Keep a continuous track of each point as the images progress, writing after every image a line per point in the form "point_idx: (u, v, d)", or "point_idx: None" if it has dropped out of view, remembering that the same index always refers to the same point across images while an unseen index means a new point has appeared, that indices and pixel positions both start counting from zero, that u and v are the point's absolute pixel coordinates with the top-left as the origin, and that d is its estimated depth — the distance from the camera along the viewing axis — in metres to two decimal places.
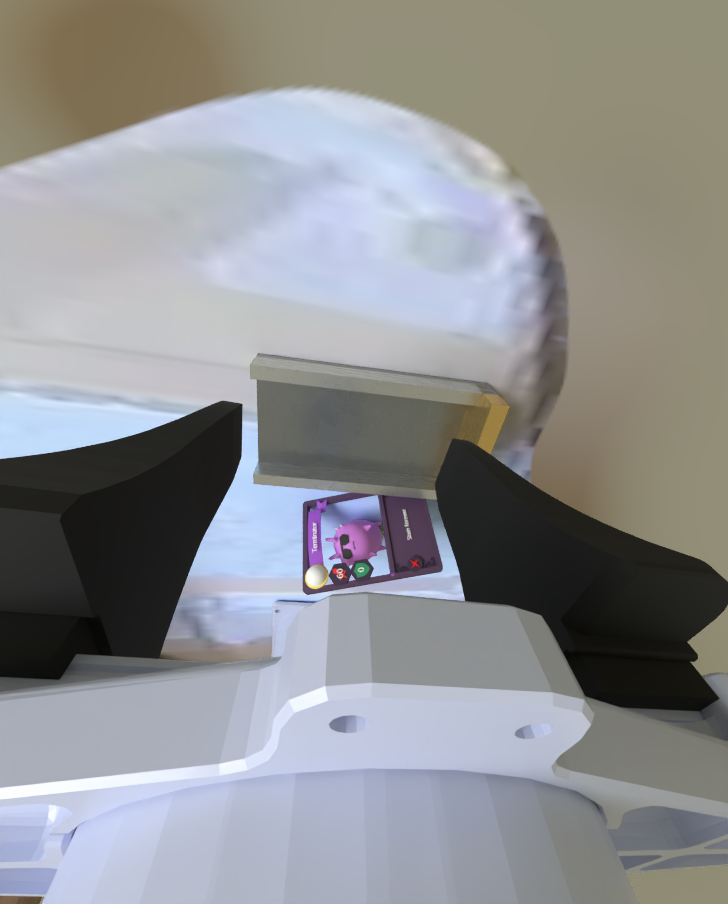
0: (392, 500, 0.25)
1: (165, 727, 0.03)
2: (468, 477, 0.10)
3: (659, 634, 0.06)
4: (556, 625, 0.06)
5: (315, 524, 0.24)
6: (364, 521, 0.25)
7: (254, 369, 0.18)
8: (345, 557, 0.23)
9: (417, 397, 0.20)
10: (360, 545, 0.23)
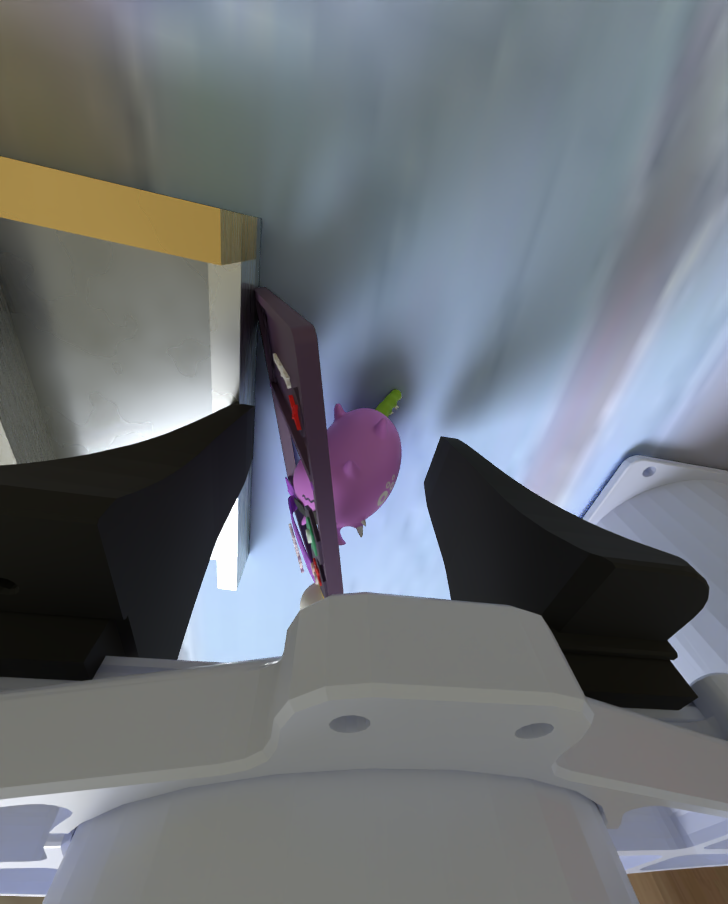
0: (276, 370, 0.11)
1: (165, 727, 0.03)
2: (455, 475, 0.10)
3: (638, 632, 0.06)
4: None
5: (290, 526, 0.13)
6: None
7: None
8: None
9: None
10: None
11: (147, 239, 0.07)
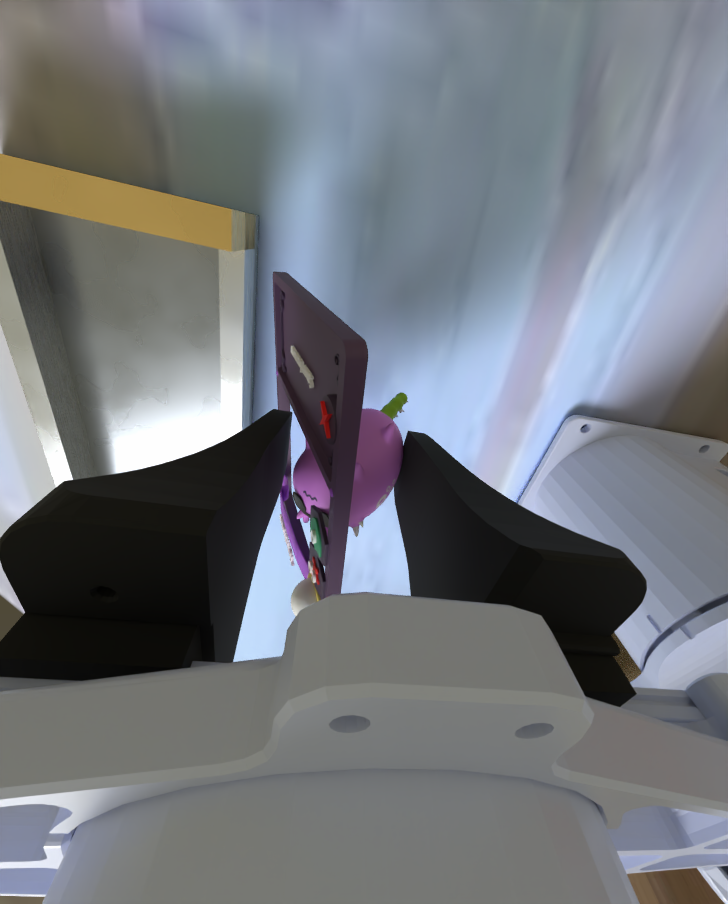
0: (288, 360, 0.11)
1: (165, 727, 0.03)
2: (417, 470, 0.10)
3: (579, 627, 0.06)
4: None
5: (281, 517, 0.13)
6: None
7: None
8: (326, 524, 0.10)
9: (22, 323, 0.12)
10: (315, 485, 0.10)
11: (176, 231, 0.09)
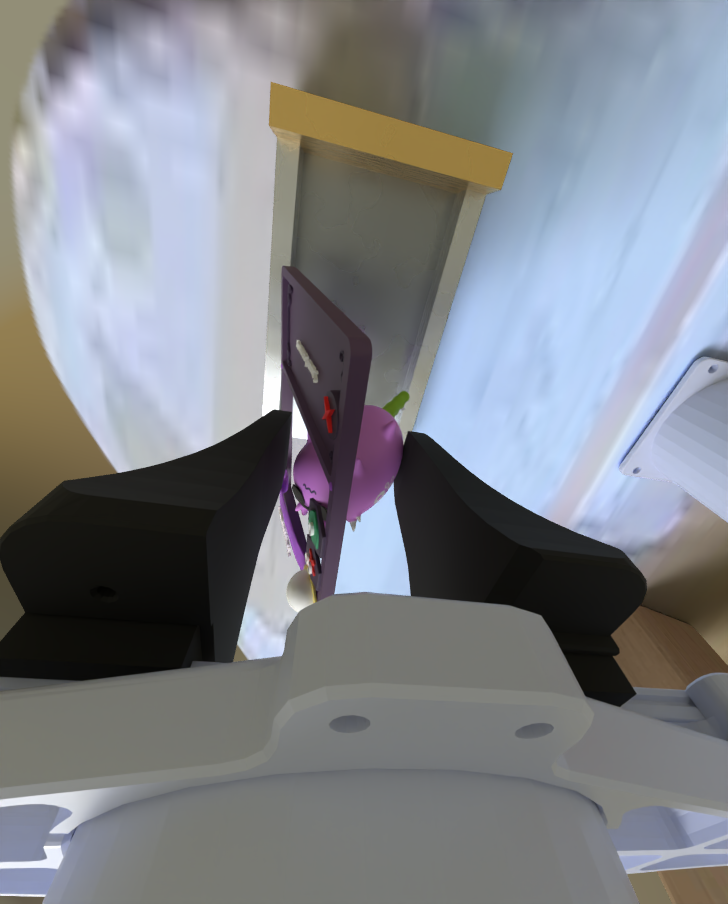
0: (293, 354, 0.11)
1: (165, 727, 0.03)
2: (417, 470, 0.10)
3: (578, 627, 0.06)
4: None
5: (280, 508, 0.13)
6: None
7: None
8: (324, 517, 0.11)
9: (288, 258, 0.14)
10: (315, 478, 0.10)
11: (464, 172, 0.12)
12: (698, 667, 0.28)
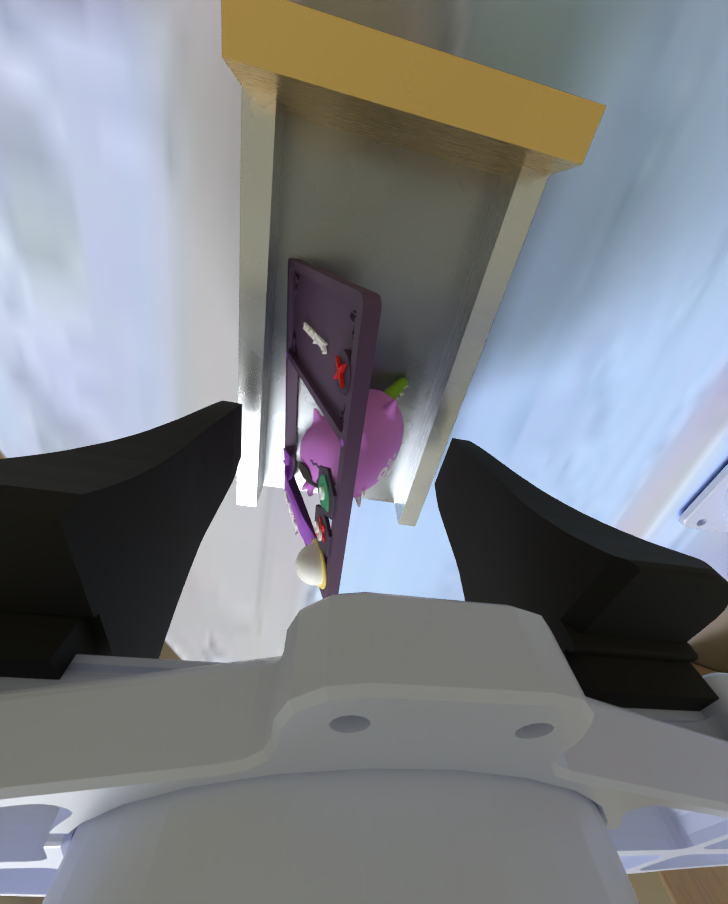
0: (299, 340, 0.11)
1: (165, 727, 0.03)
2: (468, 477, 0.10)
3: (659, 634, 0.06)
4: (556, 625, 0.06)
5: (285, 493, 0.13)
6: None
7: (243, 501, 0.15)
8: None
9: (264, 267, 0.10)
10: (322, 453, 0.11)
11: (528, 136, 0.08)
12: None
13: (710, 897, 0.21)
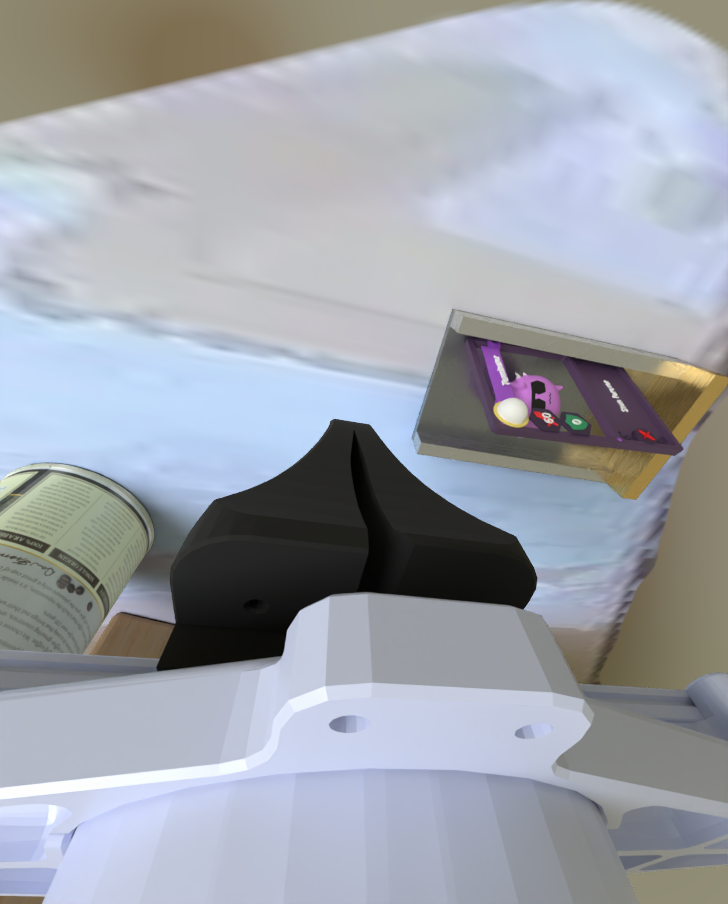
0: (586, 369, 0.19)
1: (165, 727, 0.03)
2: (353, 460, 0.10)
3: None
4: None
5: (497, 358, 0.17)
6: None
7: (465, 322, 0.17)
8: None
9: (622, 365, 0.18)
10: (556, 402, 0.17)
11: (638, 479, 0.20)
12: None
13: None
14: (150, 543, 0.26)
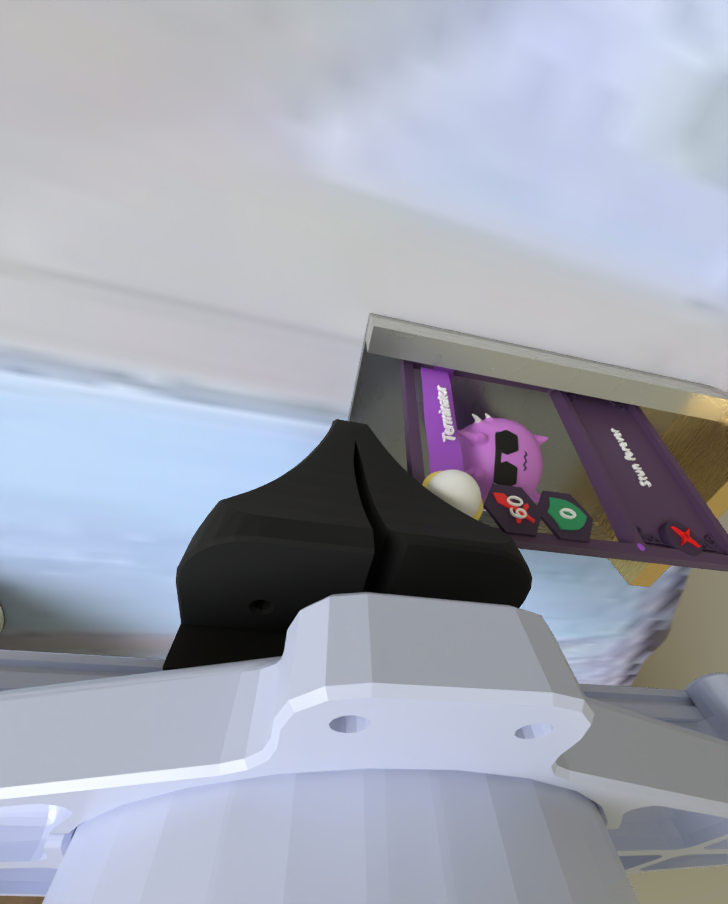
0: (584, 409, 0.12)
1: (165, 727, 0.03)
2: None
3: None
4: None
5: (443, 390, 0.10)
6: None
7: (379, 335, 0.10)
8: (499, 481, 0.10)
9: (633, 402, 0.12)
10: (535, 466, 0.10)
11: None
12: None
13: None
14: None
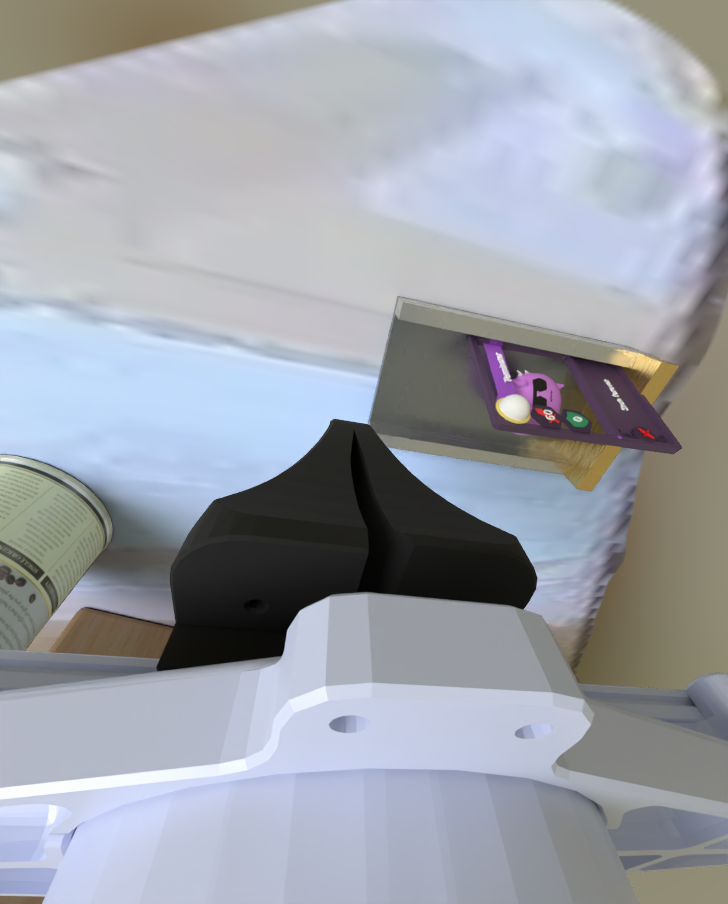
0: (586, 368, 0.19)
1: (165, 727, 0.03)
2: (353, 461, 0.10)
3: None
4: None
5: (500, 355, 0.17)
6: None
7: (406, 308, 0.16)
8: None
9: (570, 353, 0.18)
10: (557, 399, 0.17)
11: (592, 470, 0.20)
12: None
13: None
14: (108, 536, 0.26)
